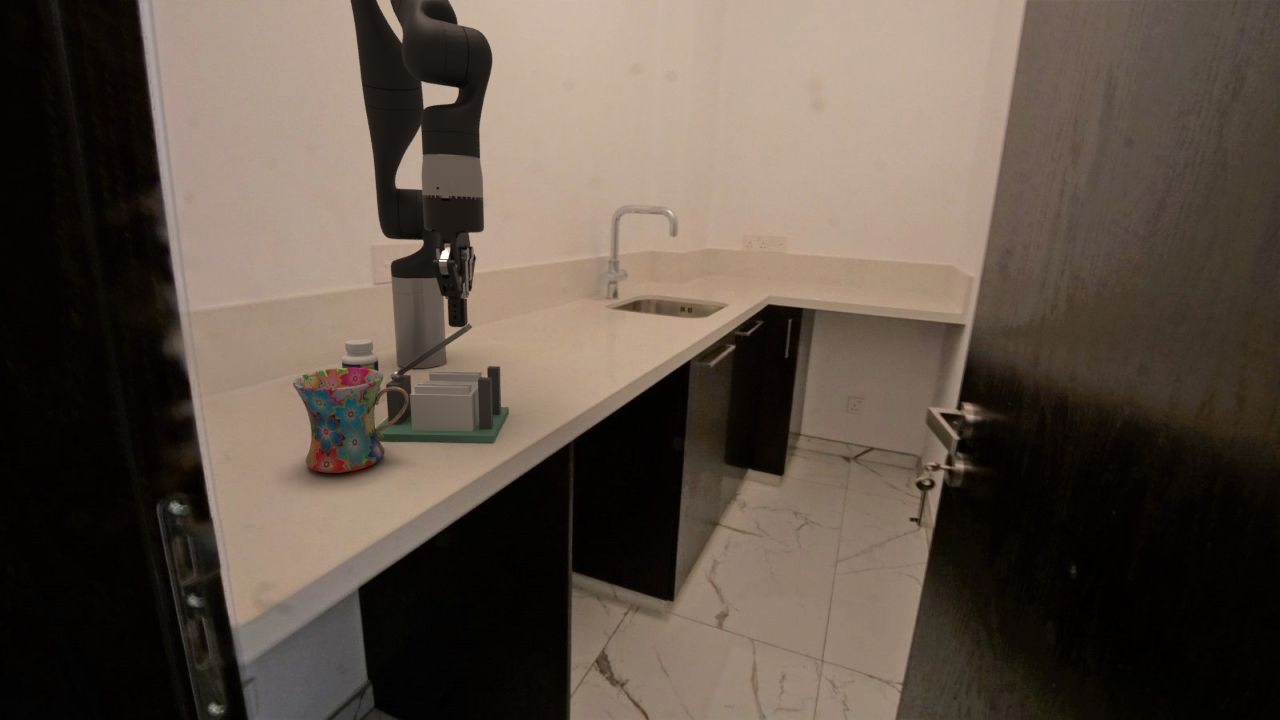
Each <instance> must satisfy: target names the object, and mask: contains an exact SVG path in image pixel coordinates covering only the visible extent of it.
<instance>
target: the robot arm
mask: <svg viewBox="0 0 1280 720" xmlns="http://www.w3.org/2000/svg"><path fill="white" fill-rule="evenodd" d="M389 1H390V5H391V8H392V10H393V13H394V14H395V17H396V19H397V21H398V23H399V24H400V27H401V30H402V31H401V32H402V38H401V39H402V41H401V40H400V38H399V36H397V34H396V33H395V31H394V29H393V28H392V27H391V25H390V24H389V22H388V19H387V18H386V17H385V15H384V13H383V12H382V10H381V8H380V7H381V6H380V5H379V3H378V1H377V0H350V5H351V9H352V11H351V12H352V16H353V22H354V28H355V36H356V45H357V51H358V52H357V53H358V63H359V71H360V79H361V87H362V94H363V95H362V96H363V101H364V106H365V108H364V109H365V113H366V114H365V115H366V119H367V124H368V131H369V136H370V142H371V148H372V155H373V156H372V158H373V167H374V177H375V178H374V181H375V192H376V205H377V206H376V207H377V213H378V214H377V216H378V221H379V222H378V223H379V226H380V229H381V232H382V234H383V235H384V236H385V238H387V239H391V240H401V241H403V240H408V241H422V242H423V244H422V246H421V248H420V249H418V250H417V251H415V252H414V253H412V254H409V255H407V256H403V257H400V258H397V259H394V260H393V261H391V263H390V275H391V277H390V278H391V292H392V306H393V320H394V334H395V335H394V336H395V337H394V338H395V352H396V353H395V354H396V364H397V366H399V367H400V368H403V367H405V366H406V365H408V364H409V363H411V362H412V361H414V360H415V359H417V358H418V357H420V356H421V355H423V354H424V353H426V352H427V351H429V350H430V349H432V348H433V347H435V346H436V345H438V344H439V343H441V342H442V341H444V340H445V339H446V326H445V325H446V323H445V322H446V321H445V303H444V301H445V300H444V299H446V300H447V317H448V319H447V320H448V321H447V322H448V325H449V327H451V328H463V327H465V326H466V325H468V324H469V322H468V321H469V319H468V298H469V296H470V292H471V291H472V289H473V280H474V275H475V274H474V273H475V266H476V261H477V256H476V254H475V252H474V251H475V250H474V246H472V245H471V240H470V235H469V234H471V233H472V234H473V233H475V234H476V233H482V232H483V231H484V230H485V213H484V211H485V209H484V179H483V177H484V176H483V171H482V166H481V144H480V143H481V142H480V141H481V140H480V139H481V137H480V127H481V126H480V125H481V118H482V112H483V107H484V101H485V97H486V94H487V89H488V85H489V81H490V77H491V73H492V69H493V52H492V49H491V46H490V43H489V41H488V39H487V37H486V36H485V35H484V34H483V33H482V32H481V31H480V30H478V29H475V28H474V27H470V26H466V25H460V24H458V23H459V22H458V18H457V15H456V12H455V10H454V8H453V6H452V4H451V2H450V1H449V0H389ZM422 83H426V84H432V85H438V86H445V87H450V88H456V89H457V88H458V94H457V98H456V99H455V101H454V102H453V103H446V104H445V103H444V104H442V103H441V104H433V105H429V106H426V107H424V95H423V86H422ZM419 130H420V131H421V148H422V164H421V189H416V188H415V189H413V188H398V187H397V185H396V184H397V183H396V177H397V172H398V169H399V167H400V165H401V163H402V160H403V158H404V156H405V153H406V151H408V148H409V147H410V145H411V143H412V142H413V140H414V139H415V137H416V136H417V133H418V132H419ZM444 297H445V298H444ZM446 347H447V345H446V346H445V347H443V348H442V349H440V350H439V351H437V352H436V353H434V354H433V355H431V356H430V357H428V358H427V359H425V360H424V361H422V362H421V363H419V364H418V365H416V366H415V367H413V368H412V369H427V368H435V367H439V366H442V365H444V364H446V363H447V350H446V349H447V348H446Z"/></svg>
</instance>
